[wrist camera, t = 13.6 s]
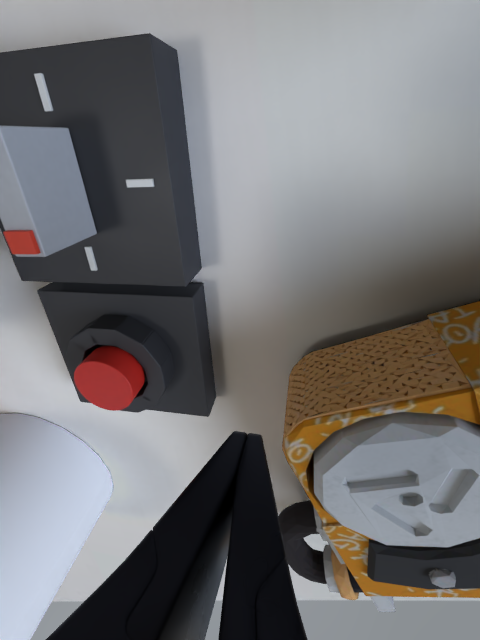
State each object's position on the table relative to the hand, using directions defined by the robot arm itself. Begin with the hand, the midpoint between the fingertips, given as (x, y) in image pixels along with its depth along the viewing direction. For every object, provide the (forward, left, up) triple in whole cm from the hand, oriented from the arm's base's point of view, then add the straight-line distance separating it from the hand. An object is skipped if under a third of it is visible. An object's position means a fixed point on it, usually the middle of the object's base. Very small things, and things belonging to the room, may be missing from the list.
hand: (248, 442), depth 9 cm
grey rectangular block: (-6, -11, -9) cm, 16 cm away
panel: (-6, -11, -12) cm, 18 cm away
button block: (+5, -11, -12) cm, 17 cm away
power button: (+5, -11, -9) cm, 15 cm away
